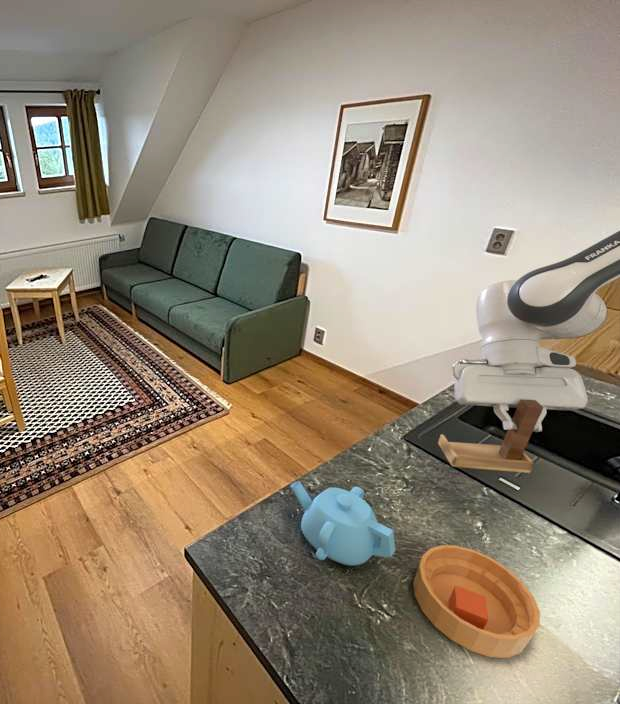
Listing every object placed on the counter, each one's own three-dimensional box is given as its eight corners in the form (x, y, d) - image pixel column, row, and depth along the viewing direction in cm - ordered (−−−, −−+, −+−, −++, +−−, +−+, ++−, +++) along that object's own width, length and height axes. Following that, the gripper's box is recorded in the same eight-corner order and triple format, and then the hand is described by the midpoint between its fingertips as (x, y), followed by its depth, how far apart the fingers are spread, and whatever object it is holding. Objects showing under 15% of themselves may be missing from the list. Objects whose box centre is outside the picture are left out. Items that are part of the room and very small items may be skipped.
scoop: (437, 443, 85) (454, 389, 79) (509, 448, 82) (533, 393, 76) (451, 466, 79) (471, 410, 73) (529, 472, 76) (557, 415, 70)
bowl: (463, 556, 74) (472, 536, 72) (553, 643, 61) (567, 622, 59) (392, 576, 72) (398, 557, 69) (469, 672, 59) (480, 652, 56)
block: (448, 599, 67) (455, 585, 66) (478, 611, 65) (485, 596, 64) (449, 621, 64) (456, 607, 63) (480, 634, 62) (488, 620, 61)
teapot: (404, 544, 77) (418, 501, 72) (368, 606, 68) (381, 562, 62) (307, 490, 91) (312, 450, 86) (266, 535, 81) (269, 494, 76)
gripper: (459, 354, 79) (468, 424, 75) (585, 357, 74) (602, 433, 70) (444, 362, 85) (451, 428, 81) (560, 366, 80) (574, 436, 76)
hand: (523, 430), depth 75 cm, fingers closed on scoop, 2 cm apart
